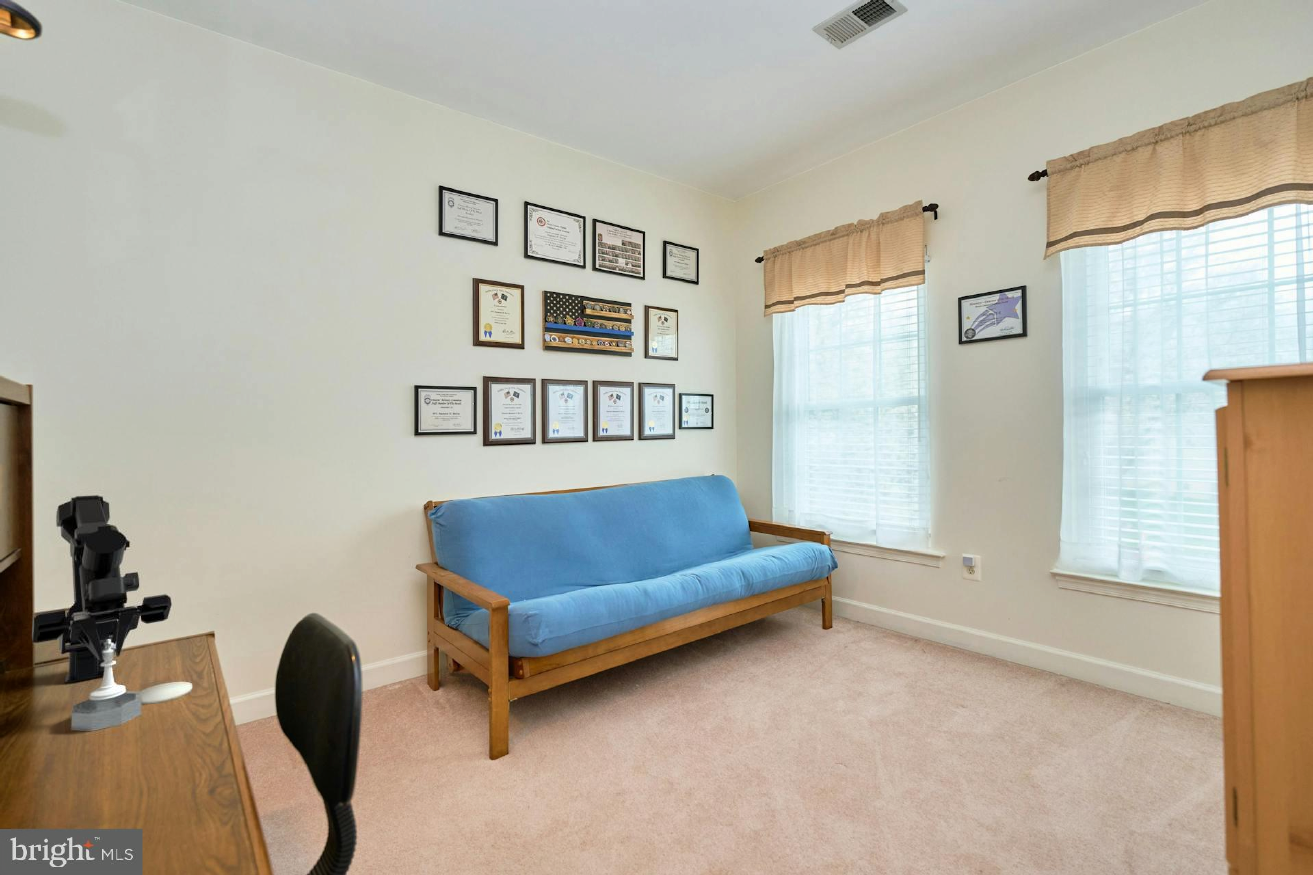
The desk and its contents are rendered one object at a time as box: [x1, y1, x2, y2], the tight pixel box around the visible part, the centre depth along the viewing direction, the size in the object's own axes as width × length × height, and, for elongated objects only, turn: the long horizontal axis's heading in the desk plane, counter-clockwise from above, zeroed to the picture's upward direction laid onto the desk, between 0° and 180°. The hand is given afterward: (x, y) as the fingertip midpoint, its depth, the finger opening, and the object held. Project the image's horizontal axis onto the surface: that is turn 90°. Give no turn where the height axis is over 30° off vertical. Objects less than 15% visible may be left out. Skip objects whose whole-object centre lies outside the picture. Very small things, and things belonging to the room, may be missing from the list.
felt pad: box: [139, 681, 193, 705], centre depth 119 cm, size 9×9×1 cm
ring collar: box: [71, 690, 142, 732], centre depth 108 cm, size 9×9×3 cm
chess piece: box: [88, 639, 127, 700], centre depth 108 cm, size 5×5×10 cm
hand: (109, 657), depth 107 cm, fingers closed on chess piece
